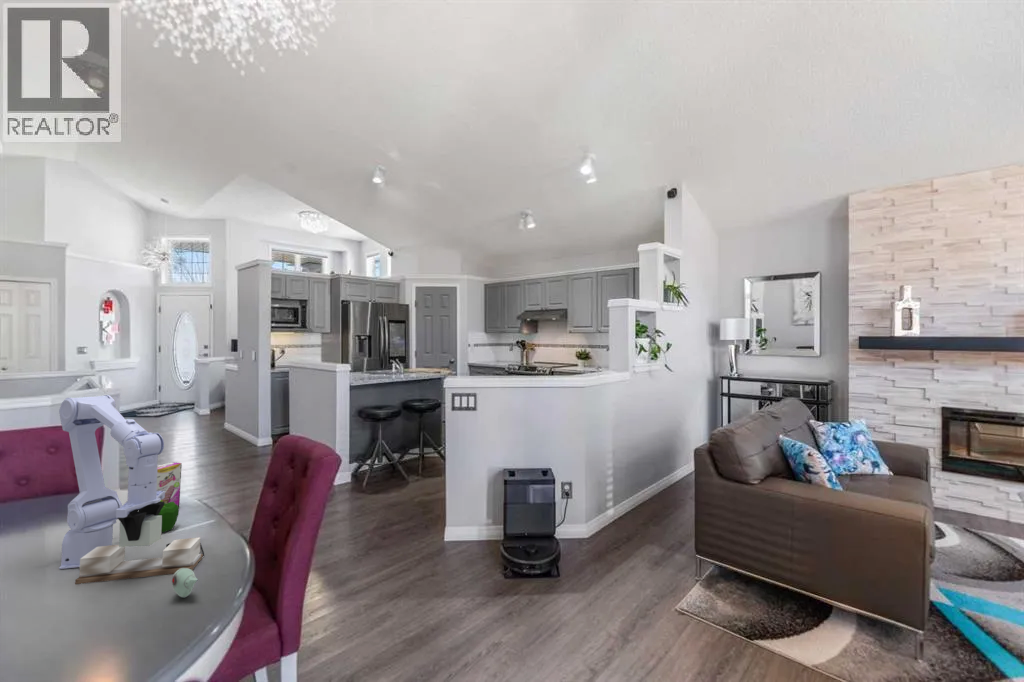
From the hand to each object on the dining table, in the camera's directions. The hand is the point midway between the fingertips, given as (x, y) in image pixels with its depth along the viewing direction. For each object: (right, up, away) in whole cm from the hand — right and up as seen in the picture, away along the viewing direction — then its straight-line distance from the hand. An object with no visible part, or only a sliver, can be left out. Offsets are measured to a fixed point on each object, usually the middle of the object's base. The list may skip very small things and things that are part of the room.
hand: (140, 536), depth 114 cm
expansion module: (0, -2, 0) cm, 2 cm away
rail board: (-1, -9, +1) cm, 10 cm away
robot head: (+19, -10, -11) cm, 24 cm away
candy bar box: (-27, -10, +41) cm, 50 cm away
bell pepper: (-15, -10, +27) cm, 32 cm away
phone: (+2, -10, +12) cm, 16 cm away
